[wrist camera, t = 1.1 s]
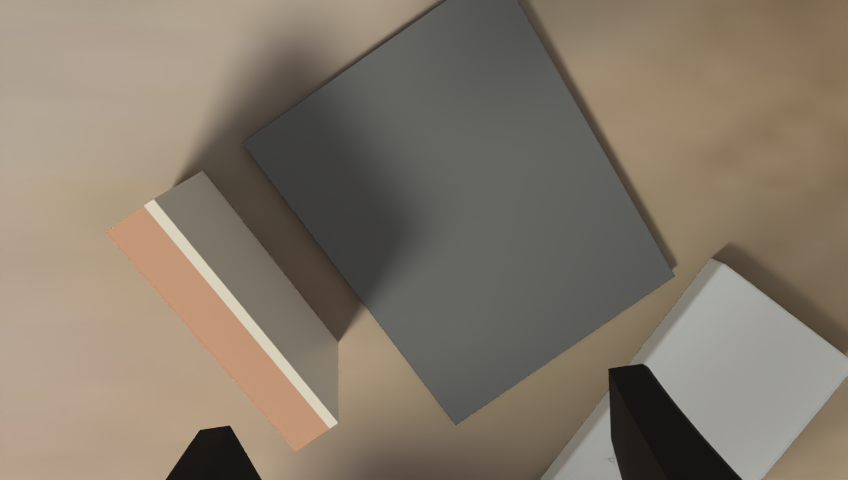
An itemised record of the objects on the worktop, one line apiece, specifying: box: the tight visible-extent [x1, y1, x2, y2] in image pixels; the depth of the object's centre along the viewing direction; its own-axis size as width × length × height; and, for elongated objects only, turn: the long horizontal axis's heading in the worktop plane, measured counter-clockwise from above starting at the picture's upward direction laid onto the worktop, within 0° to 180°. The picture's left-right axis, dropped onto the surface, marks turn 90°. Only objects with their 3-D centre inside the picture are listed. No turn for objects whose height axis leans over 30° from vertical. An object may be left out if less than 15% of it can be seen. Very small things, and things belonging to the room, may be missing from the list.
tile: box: [106, 171, 338, 452], centre depth 20 cm, size 2×8×6 cm, turn 33°
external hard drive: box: [540, 258, 848, 480], centre depth 26 cm, size 2×8×12 cm
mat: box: [242, 0, 675, 425], centre depth 23 cm, size 10×14×1 cm
